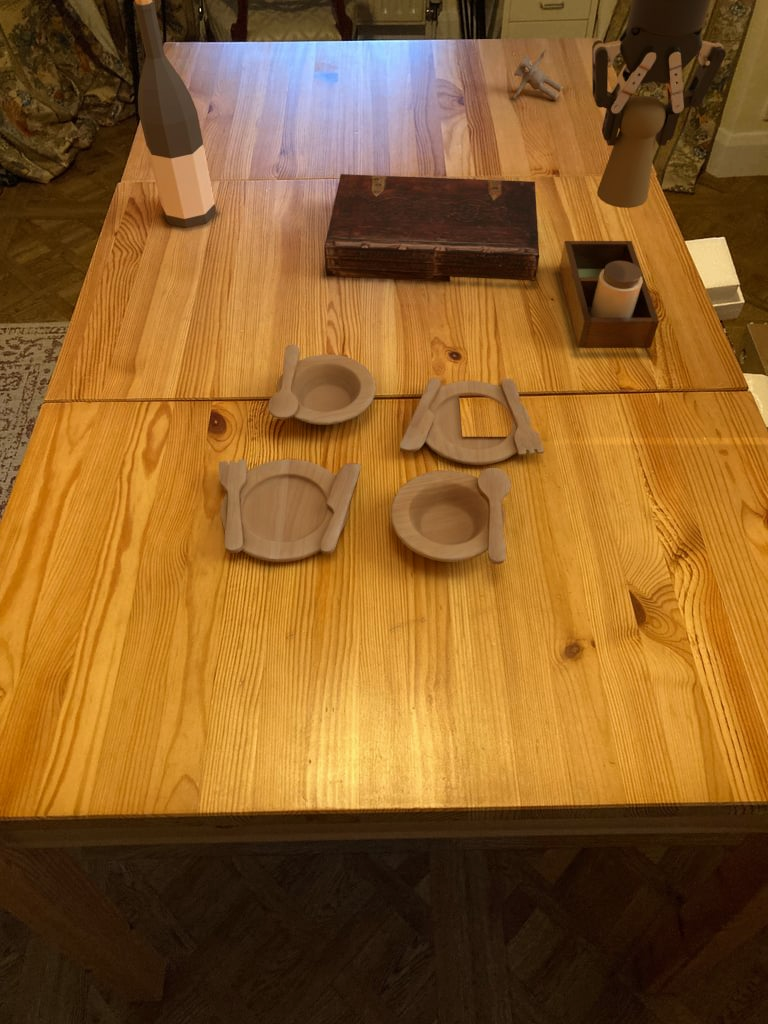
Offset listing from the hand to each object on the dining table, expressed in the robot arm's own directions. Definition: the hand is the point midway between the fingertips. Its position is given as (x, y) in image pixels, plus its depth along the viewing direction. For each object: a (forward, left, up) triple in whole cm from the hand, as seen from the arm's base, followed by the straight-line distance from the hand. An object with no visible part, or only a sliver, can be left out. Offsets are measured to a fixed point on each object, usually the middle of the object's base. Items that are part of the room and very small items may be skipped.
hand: (635, 141), depth 88 cm
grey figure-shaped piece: (+1, -61, -21) cm, 65 cm away
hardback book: (+22, -12, -21) cm, 33 cm away
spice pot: (0, +8, -20) cm, 21 cm away
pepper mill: (0, 0, -7) cm, 7 cm away
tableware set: (+29, +32, -21) cm, 48 cm away
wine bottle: (+59, -20, -21) cm, 66 cm away
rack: (0, +4, -21) cm, 21 cm away
